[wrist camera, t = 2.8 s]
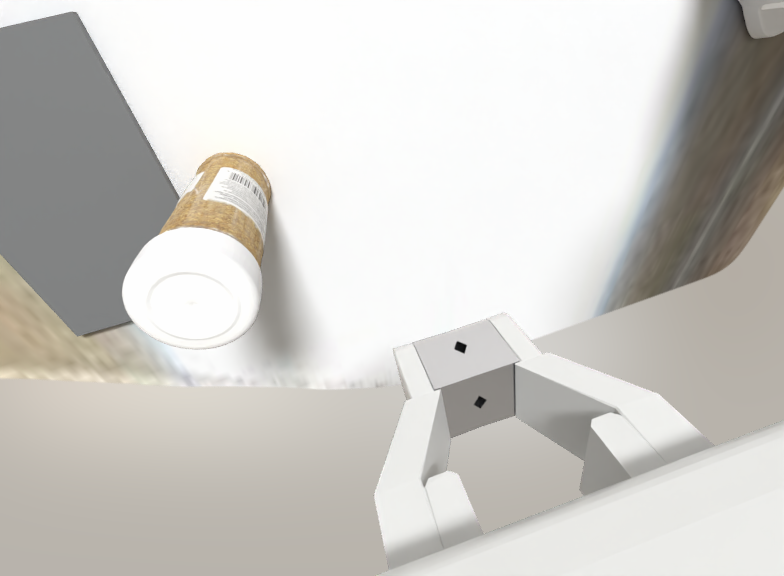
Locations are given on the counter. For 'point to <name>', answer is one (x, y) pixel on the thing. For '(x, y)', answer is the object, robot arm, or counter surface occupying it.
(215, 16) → the counter surface
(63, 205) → the mat
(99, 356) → the counter surface
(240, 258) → the sprinkles bottle
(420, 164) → the counter surface
